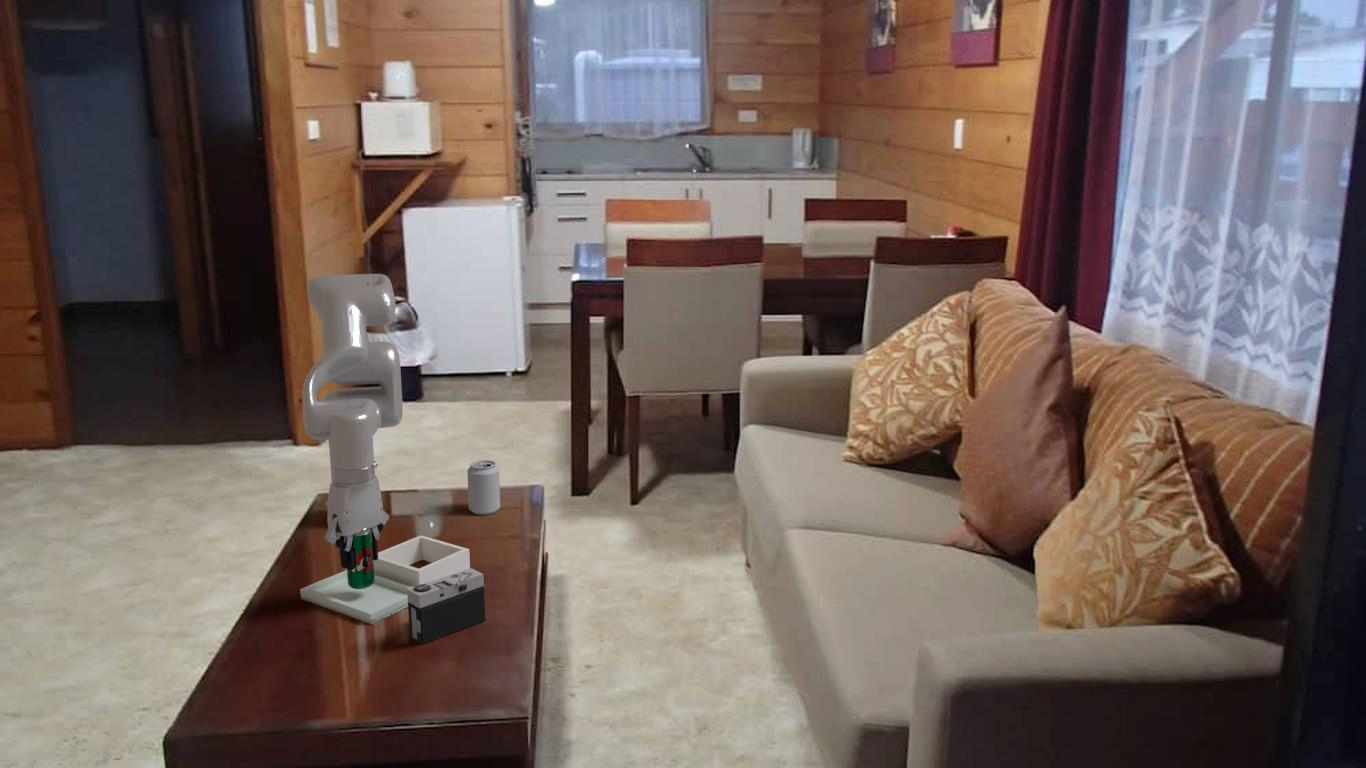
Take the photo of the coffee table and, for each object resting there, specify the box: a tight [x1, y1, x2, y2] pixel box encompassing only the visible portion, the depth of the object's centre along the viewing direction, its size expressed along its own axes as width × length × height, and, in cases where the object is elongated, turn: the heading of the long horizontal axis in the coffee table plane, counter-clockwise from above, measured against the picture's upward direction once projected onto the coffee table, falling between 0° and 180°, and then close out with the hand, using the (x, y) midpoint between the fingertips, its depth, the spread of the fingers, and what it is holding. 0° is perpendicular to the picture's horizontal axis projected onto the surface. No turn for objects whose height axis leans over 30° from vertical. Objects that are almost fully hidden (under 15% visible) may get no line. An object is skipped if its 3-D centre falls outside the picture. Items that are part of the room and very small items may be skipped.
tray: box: [299, 569, 412, 625], centre depth 209 cm, size 20×13×2 cm, turn 57°
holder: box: [374, 534, 471, 587], centre depth 220 cm, size 14×14×5 cm
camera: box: [407, 567, 486, 646], centre depth 197 cm, size 14×8×10 cm, turn 135°
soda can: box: [344, 528, 375, 589], centre depth 207 cm, size 5×5×12 cm
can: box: [466, 459, 501, 516], centre depth 257 cm, size 8×8×12 cm
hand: (359, 562), depth 207 cm, fingers closed on soda can, 5 cm apart
